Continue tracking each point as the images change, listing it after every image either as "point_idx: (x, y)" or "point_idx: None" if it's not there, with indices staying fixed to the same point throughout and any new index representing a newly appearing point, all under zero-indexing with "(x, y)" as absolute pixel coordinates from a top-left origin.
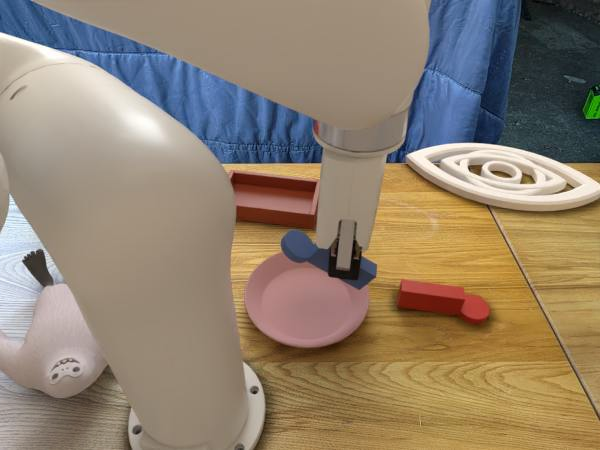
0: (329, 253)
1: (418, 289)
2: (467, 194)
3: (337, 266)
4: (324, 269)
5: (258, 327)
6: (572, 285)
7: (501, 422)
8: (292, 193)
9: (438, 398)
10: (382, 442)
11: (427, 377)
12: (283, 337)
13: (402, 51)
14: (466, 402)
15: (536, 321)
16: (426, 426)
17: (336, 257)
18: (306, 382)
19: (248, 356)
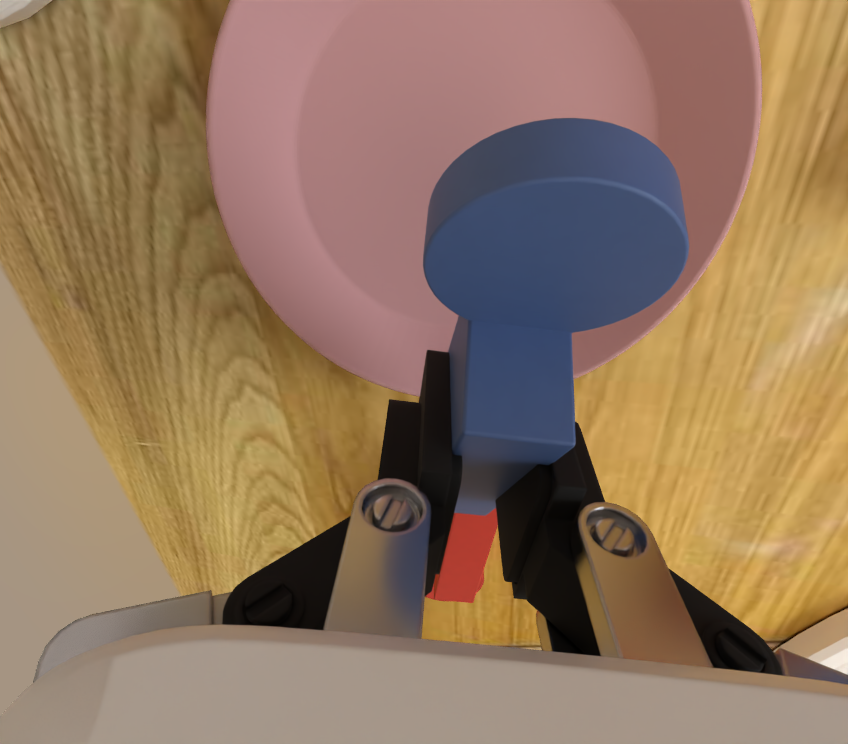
0: (424, 454)
1: (465, 527)
2: (834, 630)
3: (44, 661)
4: (453, 341)
5: None
6: None
7: (197, 556)
8: None
9: (212, 480)
10: (63, 371)
11: (258, 469)
12: (268, 89)
13: None
14: (220, 519)
15: (427, 636)
16: (139, 452)
17: (235, 589)
18: (147, 182)
19: None
